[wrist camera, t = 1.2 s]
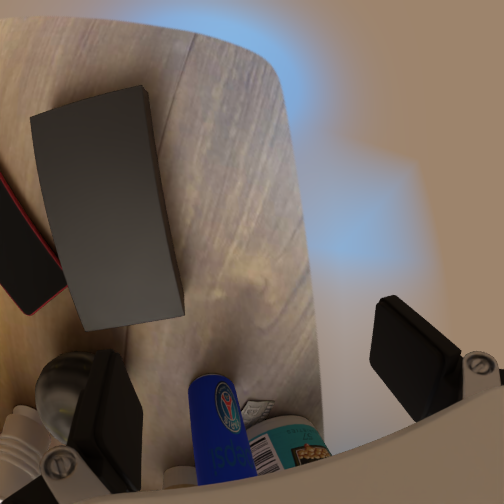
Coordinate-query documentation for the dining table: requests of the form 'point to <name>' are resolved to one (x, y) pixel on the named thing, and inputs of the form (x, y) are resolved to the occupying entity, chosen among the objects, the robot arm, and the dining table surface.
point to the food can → (285, 444)
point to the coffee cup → (179, 477)
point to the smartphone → (25, 257)
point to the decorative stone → (61, 391)
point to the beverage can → (218, 432)
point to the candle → (21, 449)
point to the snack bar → (255, 412)
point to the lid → (108, 209)
